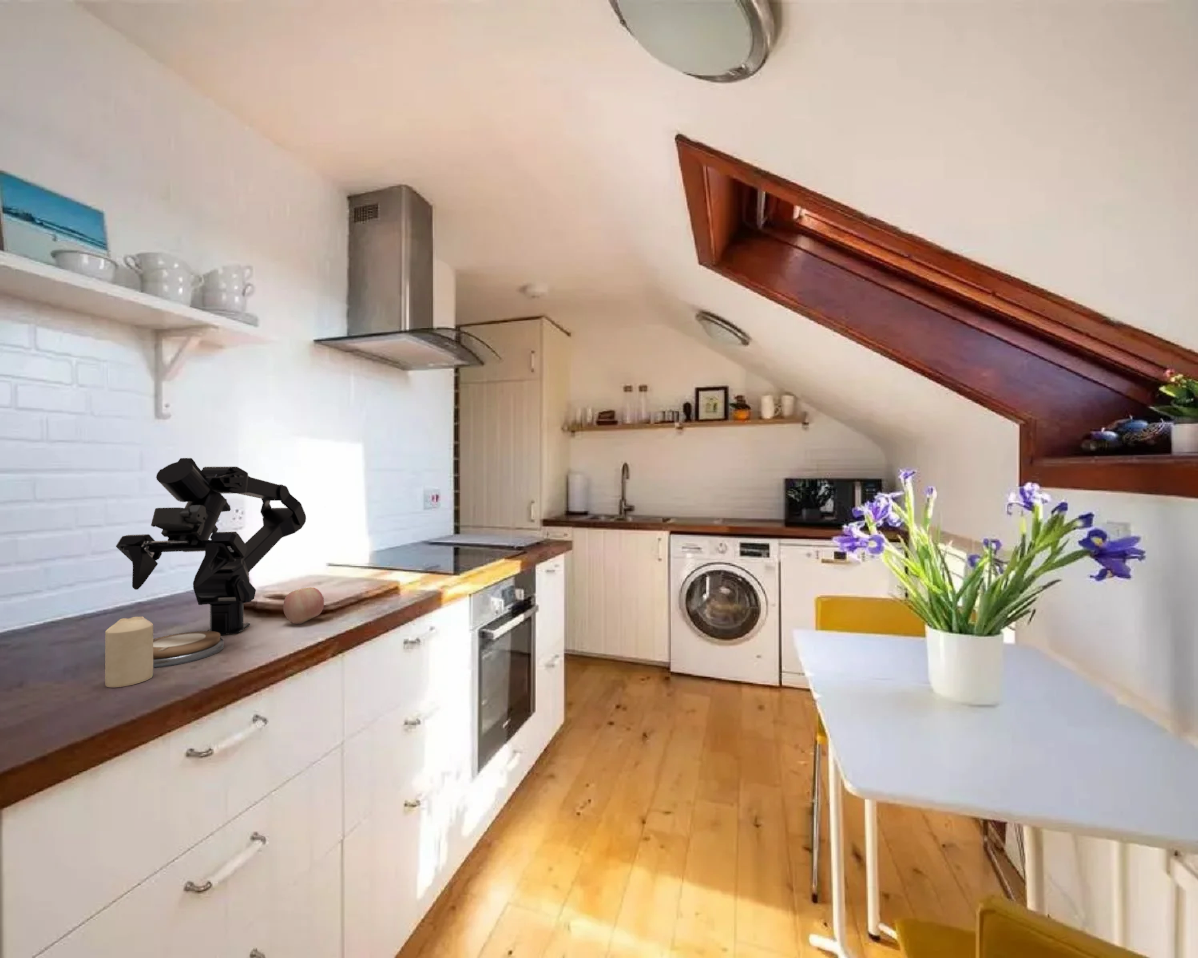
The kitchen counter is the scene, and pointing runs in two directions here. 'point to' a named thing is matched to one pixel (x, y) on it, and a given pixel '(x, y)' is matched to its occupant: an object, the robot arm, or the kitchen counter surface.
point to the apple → (303, 605)
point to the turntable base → (188, 656)
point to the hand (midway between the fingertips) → (165, 586)
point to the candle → (128, 652)
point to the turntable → (184, 643)
